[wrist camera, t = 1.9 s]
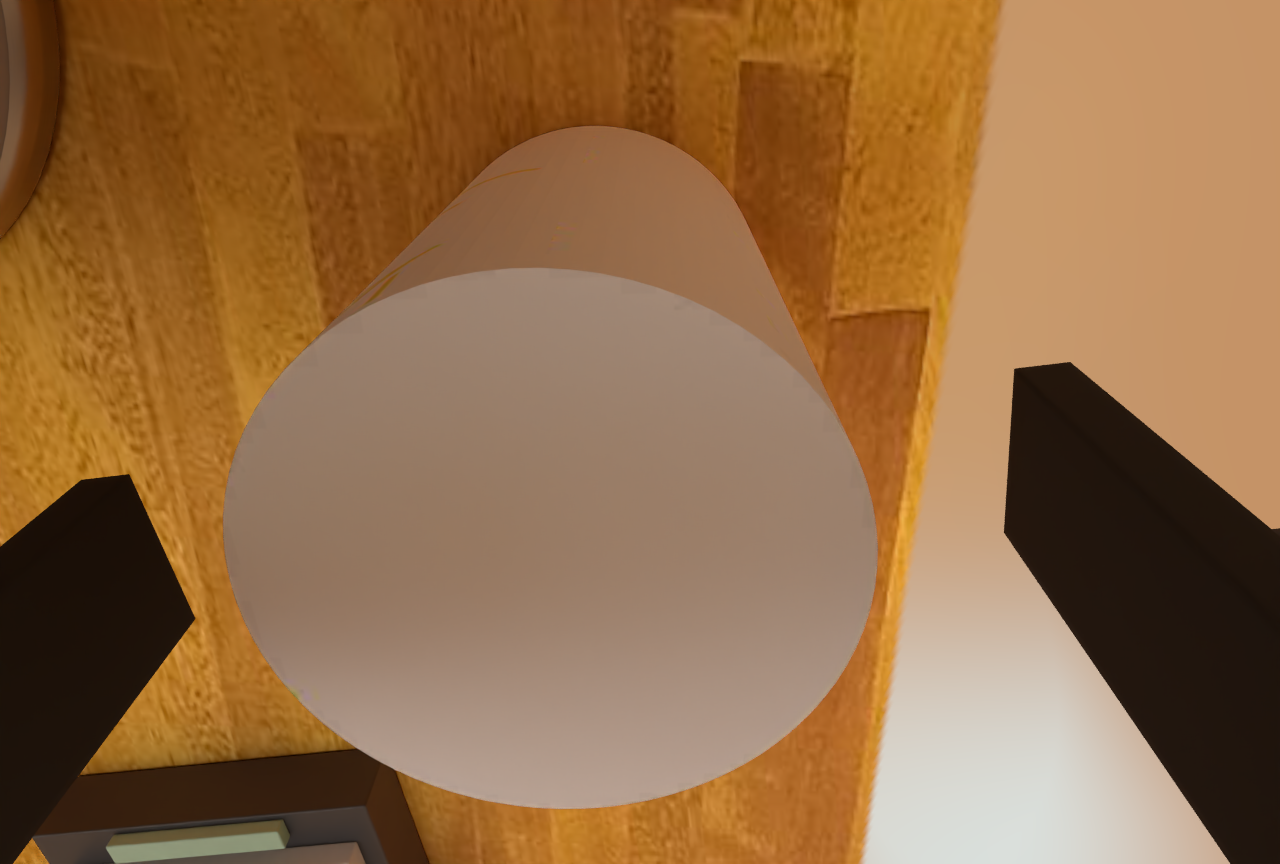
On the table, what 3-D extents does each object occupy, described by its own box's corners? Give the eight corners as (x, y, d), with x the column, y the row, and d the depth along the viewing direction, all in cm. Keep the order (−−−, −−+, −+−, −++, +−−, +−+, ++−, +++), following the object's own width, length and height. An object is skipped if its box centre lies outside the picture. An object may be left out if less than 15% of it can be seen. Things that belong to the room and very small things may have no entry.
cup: (464, 84, 19) (237, 180, 9) (805, 176, 20) (987, 368, 9) (416, 401, 23) (212, 751, 12) (707, 467, 24) (760, 850, 13)
